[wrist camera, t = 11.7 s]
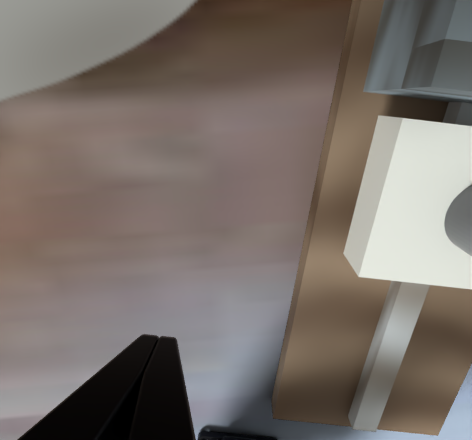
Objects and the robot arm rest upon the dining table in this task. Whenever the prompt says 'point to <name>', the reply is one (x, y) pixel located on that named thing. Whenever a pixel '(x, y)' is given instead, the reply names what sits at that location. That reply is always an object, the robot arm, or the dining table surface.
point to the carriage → (415, 205)
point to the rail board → (337, 229)
